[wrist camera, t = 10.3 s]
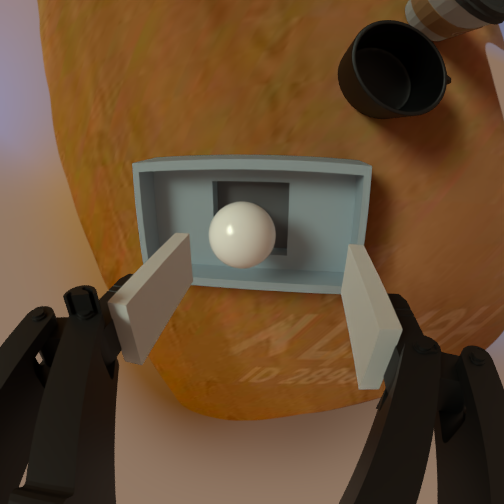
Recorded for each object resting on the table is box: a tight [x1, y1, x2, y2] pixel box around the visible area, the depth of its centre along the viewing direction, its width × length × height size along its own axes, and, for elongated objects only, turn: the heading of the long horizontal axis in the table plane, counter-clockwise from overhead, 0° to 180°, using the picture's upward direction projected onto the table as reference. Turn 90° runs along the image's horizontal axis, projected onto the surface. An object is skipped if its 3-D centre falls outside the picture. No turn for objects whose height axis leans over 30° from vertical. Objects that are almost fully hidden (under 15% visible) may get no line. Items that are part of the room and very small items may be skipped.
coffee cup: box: [405, 0, 504, 41], centre depth 16 cm, size 8×8×15 cm
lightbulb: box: [209, 201, 276, 269], centre depth 31 cm, size 6×6×11 cm
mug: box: [338, 20, 451, 119], centre depth 23 cm, size 9×12×9 cm
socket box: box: [132, 155, 372, 294], centre depth 33 cm, size 14×24×6 cm, turn 90°
